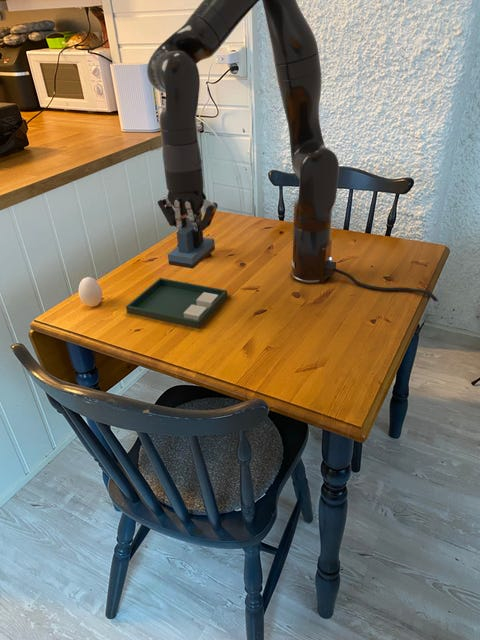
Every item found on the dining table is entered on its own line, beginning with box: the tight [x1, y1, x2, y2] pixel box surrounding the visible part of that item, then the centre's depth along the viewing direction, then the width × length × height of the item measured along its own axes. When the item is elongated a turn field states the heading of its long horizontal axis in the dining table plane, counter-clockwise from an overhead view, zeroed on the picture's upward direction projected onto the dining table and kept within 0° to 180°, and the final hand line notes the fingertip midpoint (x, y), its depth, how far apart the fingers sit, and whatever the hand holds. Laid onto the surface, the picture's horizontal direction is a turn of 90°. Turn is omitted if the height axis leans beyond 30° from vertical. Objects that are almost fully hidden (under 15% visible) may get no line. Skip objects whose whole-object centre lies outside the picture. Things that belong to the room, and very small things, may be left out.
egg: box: [78, 276, 103, 308], centre depth 113 cm, size 5×5×8 cm
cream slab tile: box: [184, 305, 207, 320], centre depth 108 cm, size 4×4×2 cm
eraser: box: [167, 222, 216, 270], centre depth 102 cm, size 6×10×7 cm, turn 156°
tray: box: [125, 277, 229, 330], centre depth 112 cm, size 19×15×2 cm
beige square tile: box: [196, 292, 219, 308], centre depth 112 cm, size 4×4×2 cm
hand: (191, 245), depth 103 cm, fingers closed on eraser, 2 cm apart
